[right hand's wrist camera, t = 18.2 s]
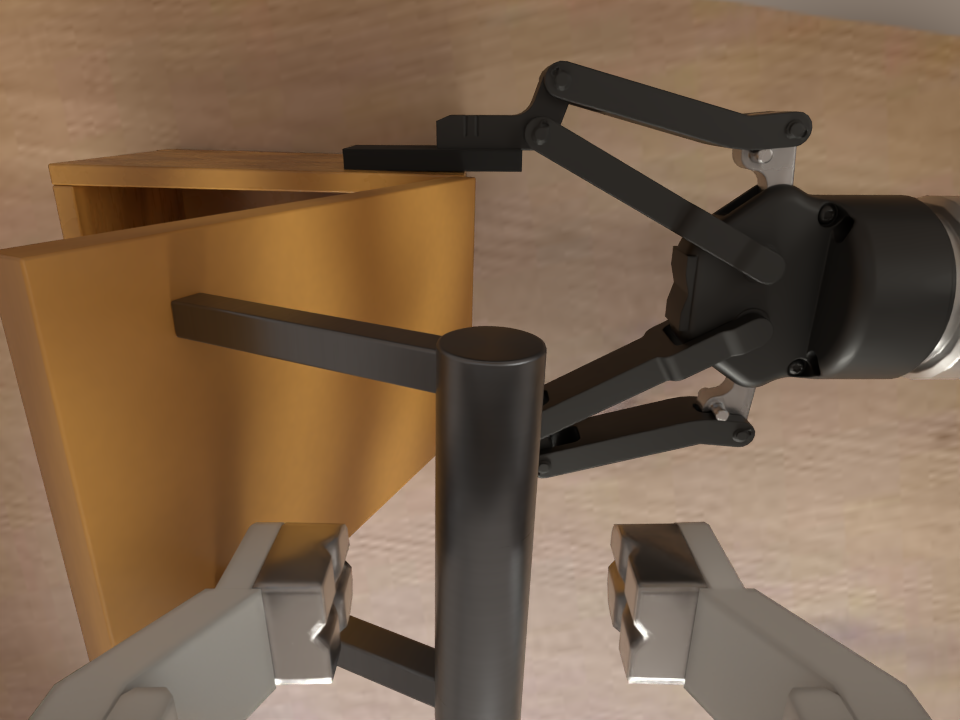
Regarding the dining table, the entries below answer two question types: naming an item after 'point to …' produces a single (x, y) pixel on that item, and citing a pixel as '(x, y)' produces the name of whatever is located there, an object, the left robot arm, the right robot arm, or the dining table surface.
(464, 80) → the dining table surface
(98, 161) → the chest
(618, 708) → the dining table surface
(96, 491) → the lid
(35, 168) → the dining table surface
